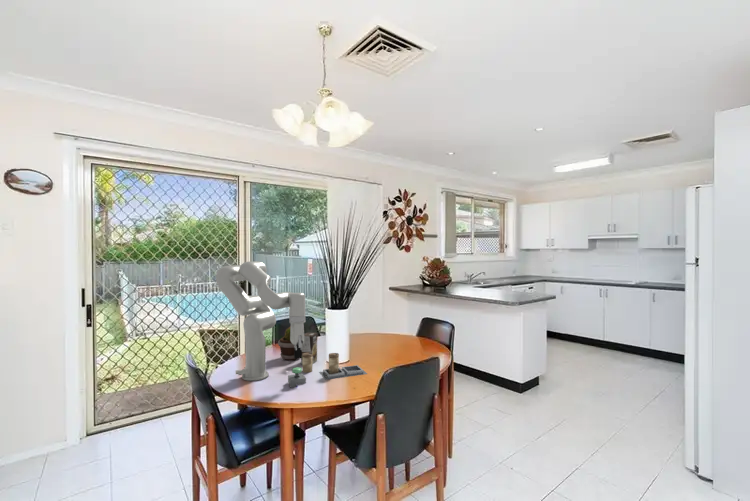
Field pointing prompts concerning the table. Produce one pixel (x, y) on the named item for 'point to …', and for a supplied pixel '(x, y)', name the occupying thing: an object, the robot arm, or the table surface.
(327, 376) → the tray
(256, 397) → the table surface
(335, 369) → the cylinder
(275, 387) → the table surface
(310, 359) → the cylinder
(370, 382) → the table surface
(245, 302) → the robot arm
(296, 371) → the button
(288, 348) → the flowerpot
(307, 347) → the coffee box
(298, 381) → the console
